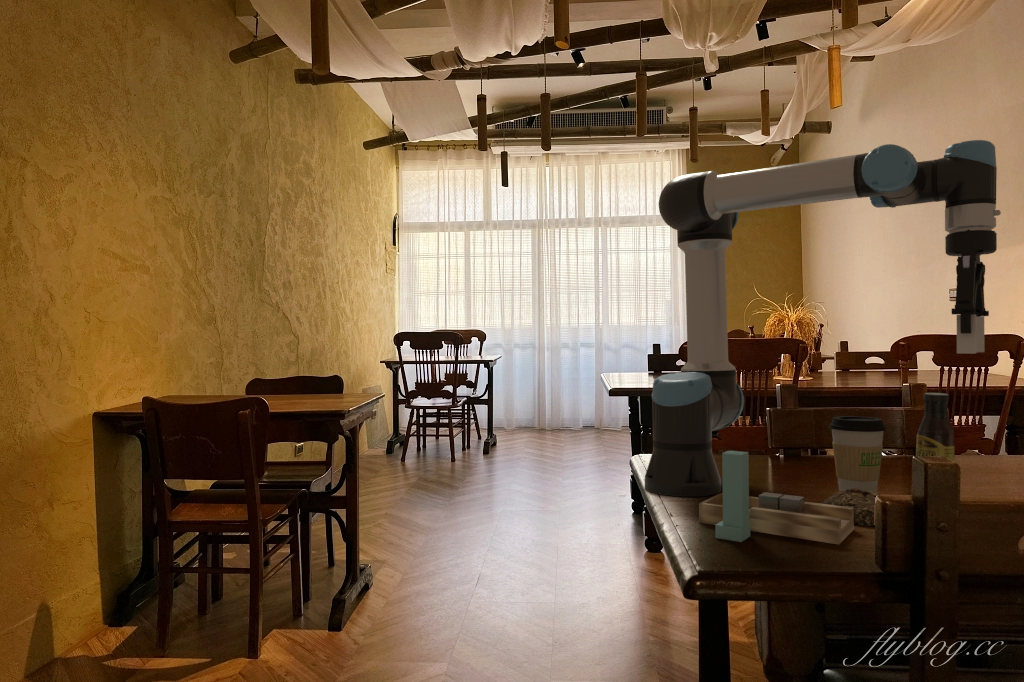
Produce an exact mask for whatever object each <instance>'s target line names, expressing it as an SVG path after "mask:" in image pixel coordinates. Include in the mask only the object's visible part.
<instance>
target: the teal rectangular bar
mask: <svg viewBox="0 0 1024 682" xmlns="http://www.w3.org/2000/svg"><path fill="white" fill-rule="evenodd" d="M749 455H750V454H749V451H738V450H727V451H724V452H722V453H721V458H722V460H721V461H722V462H721V465H722V469H721V471H722V473H721V475H722V478H721V483H722V493H723V521H721V522H719V523H718V524H716V525H714V526H715V528H714V529H715V530H714V531H715V536H714V537H715V539H720V540H727V541H732V542H738V543H742V542H744V541H746V540H747V539H748V538H750V537H751V531H750V523H749V496H750V482H749V480H750V479H749V478H750V475H749V473H750V471H749V469H750V468H749V465H750V464H749V462H750V461H749V457H750V456H749Z"/></svg>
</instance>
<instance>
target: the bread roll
mask: <svg viewBox="0 0 1024 682" xmlns="http://www.w3.org/2000/svg"><path fill="white" fill-rule="evenodd" d="M877 495H881V494H880V493H879V492H878V493H874V492H871V491H863V490H860V489H856V488H853V489H846V492H845V491H836V492H835V493H833V494H832V495H831V496H828V498H826V499H824V500H823V502H821V503H820V504H828V505H836V506H844V507H852V508H854V526H857V525H858V527H865V526H869V527H875V526H874V505H875V497H876V496H877Z"/></svg>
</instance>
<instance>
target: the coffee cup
mask: <svg viewBox="0 0 1024 682" xmlns="http://www.w3.org/2000/svg"><path fill="white" fill-rule="evenodd" d="M883 421H884V420H883V419H882V418H879V417H871V416H857V415H855V416H854V415H851V416H849V415H847V416H846V415H845V416H844V415H843V416H841V415H840V416H833V417H832V420H831V423H830V424H829V426H828V428H829V429H831V435H832V442H831V443H832V450H833V457H834V465H835V473H836V478H837V483H838V489H839V491H845V492H846V489H853V488H856V489H860V490H863V491H871V492H874V493H877V492H878V491H877V490H878V484H879V483H878V482H879V480H880V473H881V466H882V465H881V464H882V456H883V450H884V449H883V447H884V444H883V440H884V432H885V431H887V427H886V425H884V422H883ZM839 491H838V492H839Z"/></svg>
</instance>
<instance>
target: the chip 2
mask: <svg viewBox="0 0 1024 682" xmlns="http://www.w3.org/2000/svg"><path fill="white" fill-rule="evenodd" d="M804 502H805V496H800V495H789V494H783V496H782V497H780V510H781V511H788V512H795V513H803V514H805V503H804Z"/></svg>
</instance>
